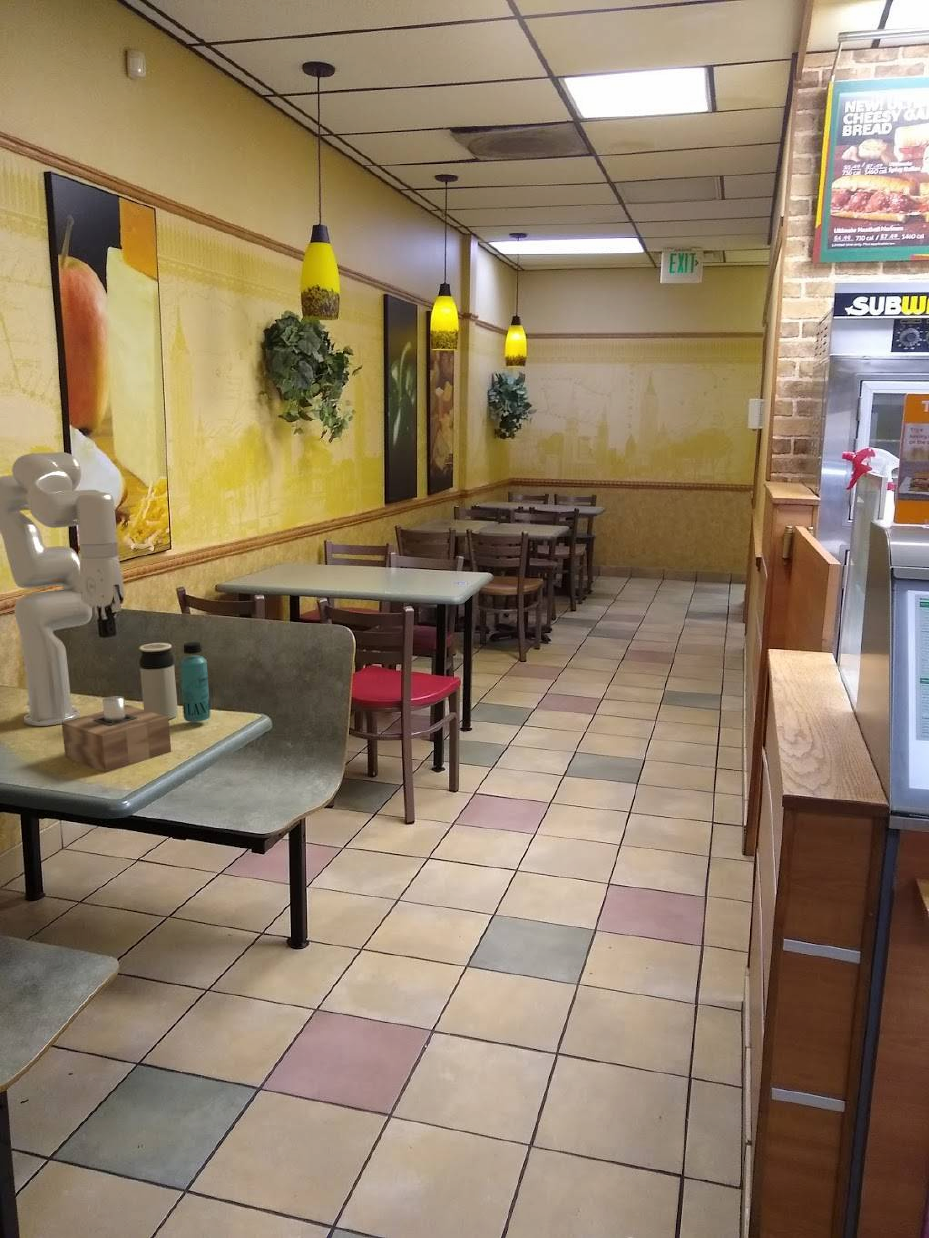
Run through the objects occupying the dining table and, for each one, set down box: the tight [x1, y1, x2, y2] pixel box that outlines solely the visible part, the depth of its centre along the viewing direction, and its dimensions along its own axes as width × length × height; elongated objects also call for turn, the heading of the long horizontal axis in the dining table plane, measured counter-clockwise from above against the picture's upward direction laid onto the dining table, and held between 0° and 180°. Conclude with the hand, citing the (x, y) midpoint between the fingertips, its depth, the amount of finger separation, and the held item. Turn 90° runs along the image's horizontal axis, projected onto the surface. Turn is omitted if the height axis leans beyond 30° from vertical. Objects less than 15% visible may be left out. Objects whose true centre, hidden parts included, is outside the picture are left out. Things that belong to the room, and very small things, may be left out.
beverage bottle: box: [179, 641, 211, 723], centre depth 235 cm, size 6×7×20 cm
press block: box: [61, 704, 172, 773], centre depth 216 cm, size 16×16×8 cm
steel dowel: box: [102, 695, 126, 724], centre depth 215 cm, size 4×4×8 cm
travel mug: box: [139, 642, 179, 720], centre depth 241 cm, size 8×8×18 cm
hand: (107, 636), depth 211 cm, fingers closed
